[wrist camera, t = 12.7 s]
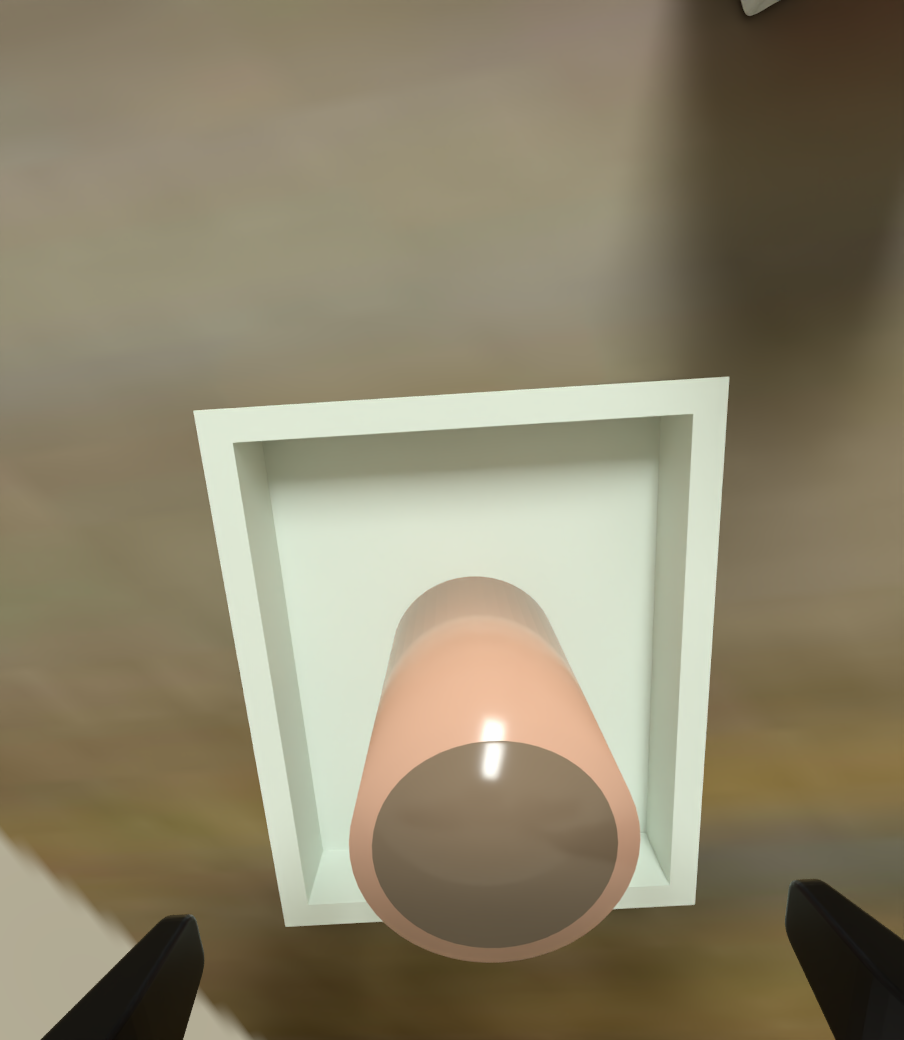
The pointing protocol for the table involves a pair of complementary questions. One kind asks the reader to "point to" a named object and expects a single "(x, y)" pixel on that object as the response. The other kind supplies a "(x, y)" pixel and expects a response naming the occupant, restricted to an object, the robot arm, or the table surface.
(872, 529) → the table surface
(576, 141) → the table surface
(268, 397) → the table surface
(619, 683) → the tray
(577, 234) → the table surface
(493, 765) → the cup
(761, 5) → the skincare box
